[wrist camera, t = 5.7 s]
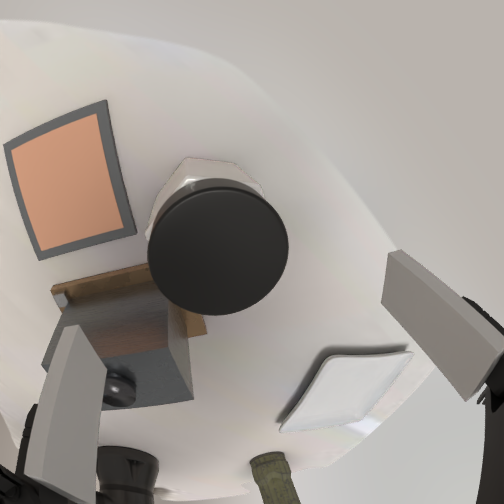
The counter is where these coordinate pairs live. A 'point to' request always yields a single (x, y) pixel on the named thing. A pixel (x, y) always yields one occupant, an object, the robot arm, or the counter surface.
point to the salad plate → (345, 390)
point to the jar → (214, 239)
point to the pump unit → (131, 336)
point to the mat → (70, 182)
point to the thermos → (274, 478)
